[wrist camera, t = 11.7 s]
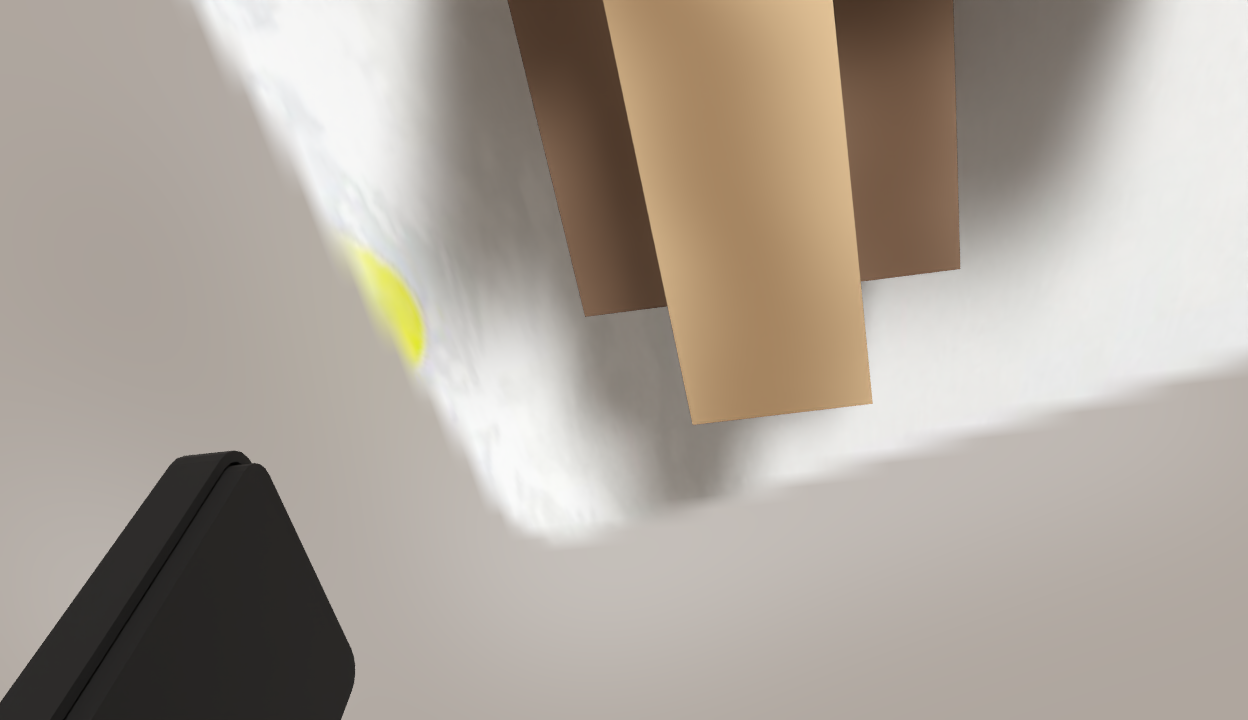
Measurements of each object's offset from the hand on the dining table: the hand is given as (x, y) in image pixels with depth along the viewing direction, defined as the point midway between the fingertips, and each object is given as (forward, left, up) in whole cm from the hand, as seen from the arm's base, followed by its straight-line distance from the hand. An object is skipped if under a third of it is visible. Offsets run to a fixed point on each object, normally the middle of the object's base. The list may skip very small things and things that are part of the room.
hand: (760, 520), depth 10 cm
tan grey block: (0, 0, -20) cm, 20 cm away
